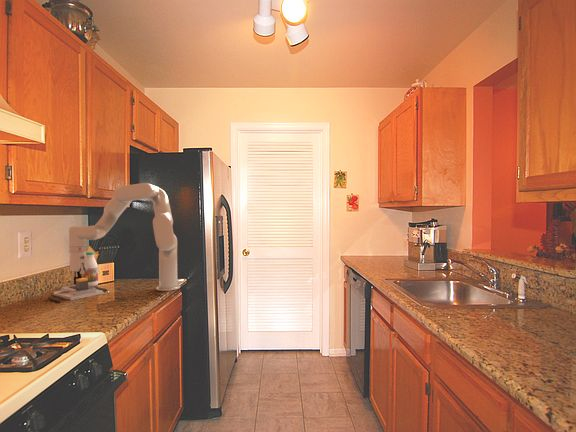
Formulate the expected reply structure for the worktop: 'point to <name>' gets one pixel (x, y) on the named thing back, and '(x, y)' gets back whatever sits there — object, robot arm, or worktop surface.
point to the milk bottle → (91, 270)
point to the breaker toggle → (81, 283)
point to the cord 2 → (100, 289)
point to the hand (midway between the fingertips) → (78, 284)
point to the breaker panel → (77, 292)
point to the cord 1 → (55, 299)
